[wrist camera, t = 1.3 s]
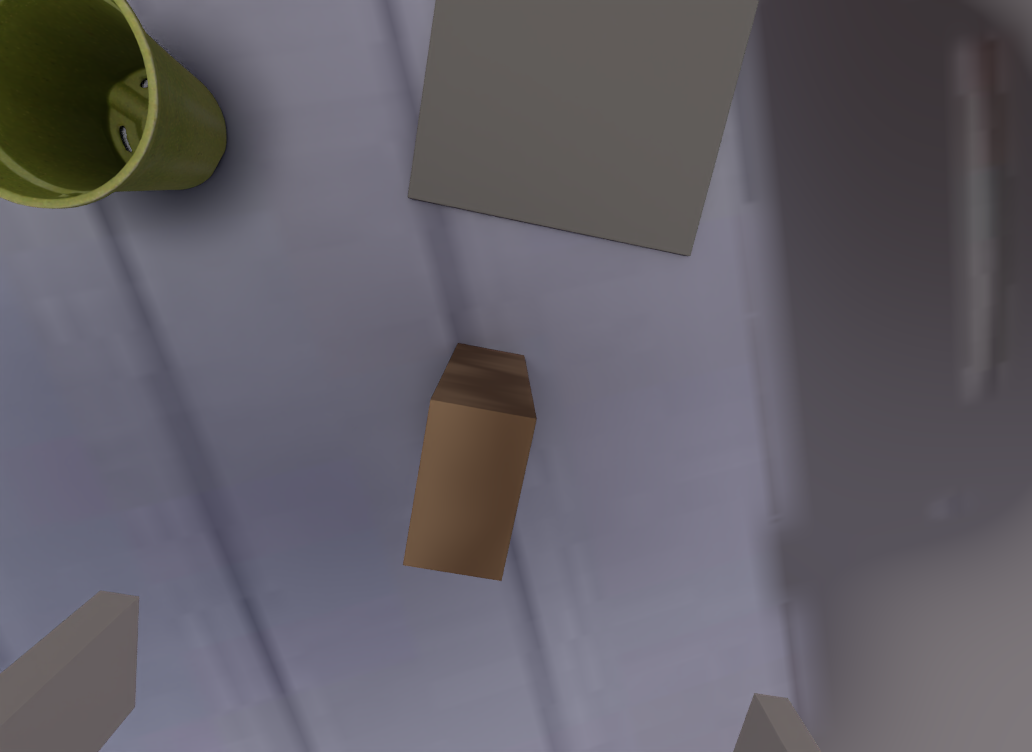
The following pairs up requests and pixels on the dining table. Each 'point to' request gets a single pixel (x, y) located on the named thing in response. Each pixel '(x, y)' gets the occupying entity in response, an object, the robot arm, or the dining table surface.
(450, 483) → the walnut block
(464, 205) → the rubber mat
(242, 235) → the dining table surface
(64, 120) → the plant pot
